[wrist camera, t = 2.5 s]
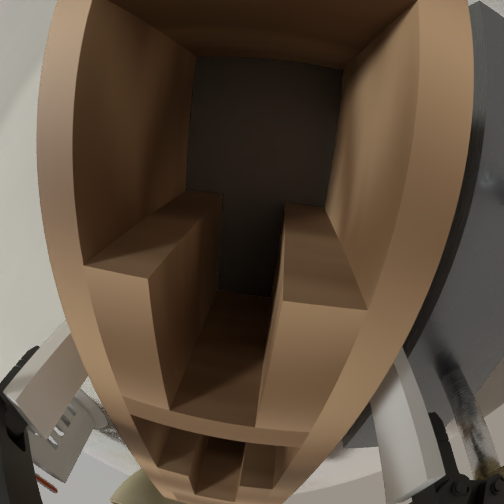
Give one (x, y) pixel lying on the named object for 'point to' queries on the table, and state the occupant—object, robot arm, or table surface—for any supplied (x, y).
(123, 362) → the wooden compartment box
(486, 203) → the rail
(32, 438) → the french press
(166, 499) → the flower pot
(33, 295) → the table surface
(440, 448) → the robot arm
